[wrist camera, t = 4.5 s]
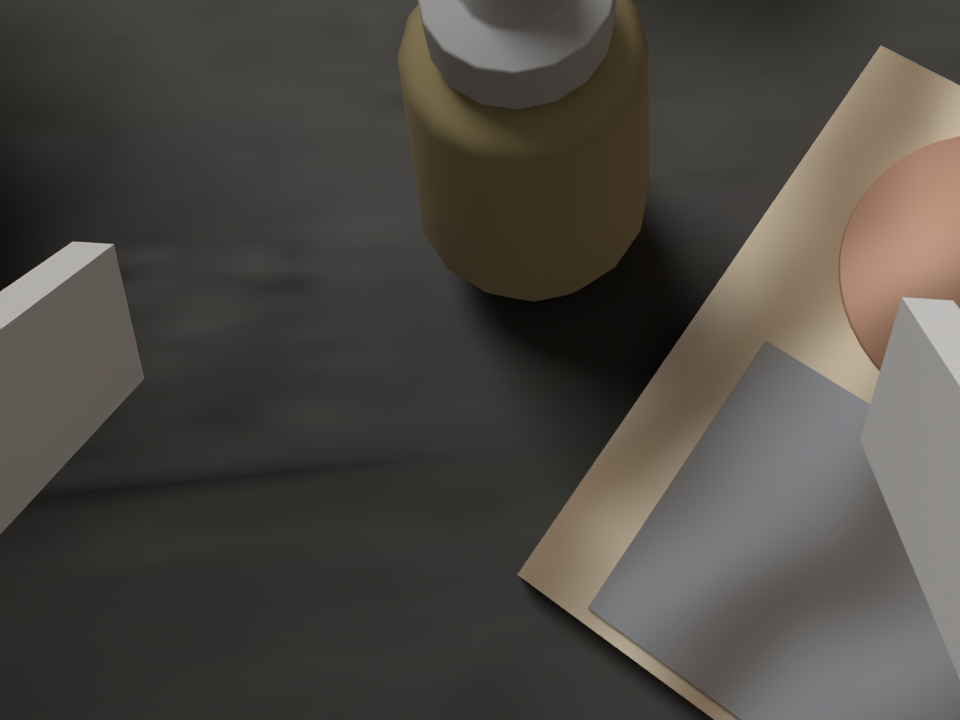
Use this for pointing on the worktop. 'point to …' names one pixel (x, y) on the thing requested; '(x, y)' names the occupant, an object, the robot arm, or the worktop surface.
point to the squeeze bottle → (528, 138)
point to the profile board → (783, 445)
